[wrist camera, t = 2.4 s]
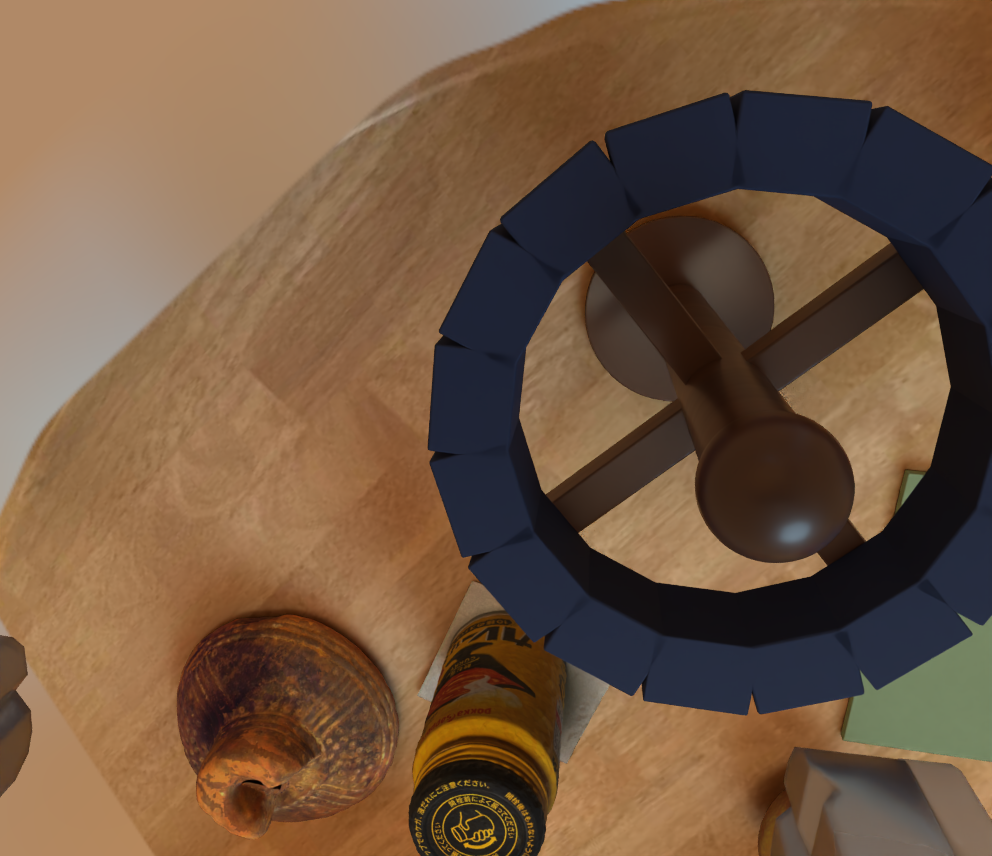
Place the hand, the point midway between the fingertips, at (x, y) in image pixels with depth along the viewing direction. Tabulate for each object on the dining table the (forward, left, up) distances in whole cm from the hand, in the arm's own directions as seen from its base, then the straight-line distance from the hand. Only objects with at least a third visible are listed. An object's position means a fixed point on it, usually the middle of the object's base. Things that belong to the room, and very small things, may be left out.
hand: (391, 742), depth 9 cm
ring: (0, +6, -16) cm, 16 cm away
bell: (+23, -11, -31) cm, 40 cm away
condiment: (+19, +1, -31) cm, 36 cm away
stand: (0, +6, -31) cm, 32 cm away
